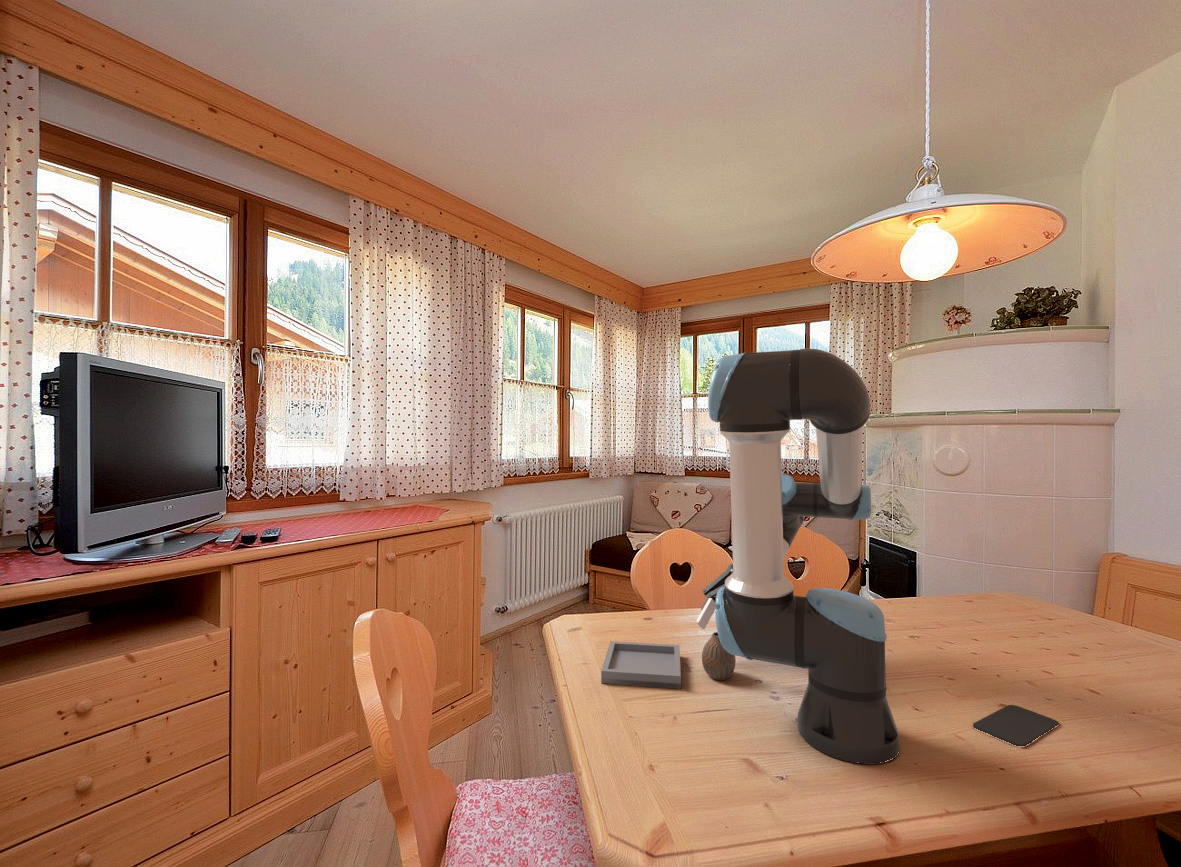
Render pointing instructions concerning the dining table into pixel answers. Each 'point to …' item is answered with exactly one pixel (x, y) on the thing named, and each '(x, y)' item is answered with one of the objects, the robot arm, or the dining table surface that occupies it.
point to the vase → (717, 659)
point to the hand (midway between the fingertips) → (723, 635)
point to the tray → (642, 665)
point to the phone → (1015, 725)
